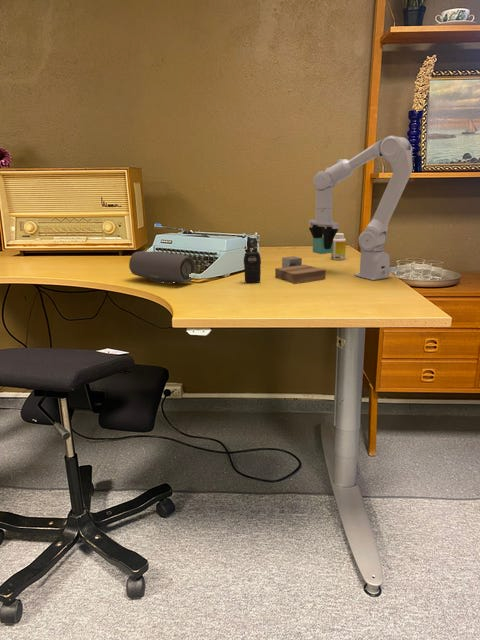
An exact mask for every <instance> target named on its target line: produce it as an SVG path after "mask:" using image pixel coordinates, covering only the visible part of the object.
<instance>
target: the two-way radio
mask: <svg viewBox="0 0 480 640" xmlns="http://www.w3.org/2000/svg"><path fill="white" fill-rule="evenodd" d="M261 258H262V257H261V255H260V252H259V251H258V247H254V248H253V251H251V237H250V236H249V235H248V236H247V237H246V252H245V253H244V256H243V265H244V266H243V268H244V269H243V272H244V282H245V283H247V284H252V283H256V284H258V283H260V282H261V270H262V268H261V267H262V266H261V265H262V261H261V260H262V259H261Z"/></svg>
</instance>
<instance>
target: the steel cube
mask: <svg viewBox="0 0 480 640" xmlns="http://www.w3.org/2000/svg"><path fill="white" fill-rule="evenodd" d="M302 260H303V259H302V257H298V256H294V255H293V256H285V257H281V266H282V267H281V268H283V267H290V266H298V265H303V264H302V262H303V261H302Z"/></svg>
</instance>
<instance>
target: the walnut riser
mask: <svg viewBox="0 0 480 640" xmlns="http://www.w3.org/2000/svg"><path fill="white" fill-rule="evenodd" d="M274 269H275V270H274V271H275V273H274V275H275V276H274V277H275V278H277V279H280V280H283V281H286V282H290V283H293V284H303V283H308V282H315V281H321V280H322V281H323V280H325V279H326V272H327V271H326V269H323V268H319V267H314V266H310V265H307V264H302V265H298V266H290V267H283V268H282V267H276V268H274Z"/></svg>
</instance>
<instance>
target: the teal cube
mask: <svg viewBox="0 0 480 640" xmlns="http://www.w3.org/2000/svg"><path fill="white" fill-rule="evenodd" d="M312 253H313V254H320V255H326V254H331V253H333V242H332V246H331V249H325V247H324V236H322V237H319V238H313V237H312Z"/></svg>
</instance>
